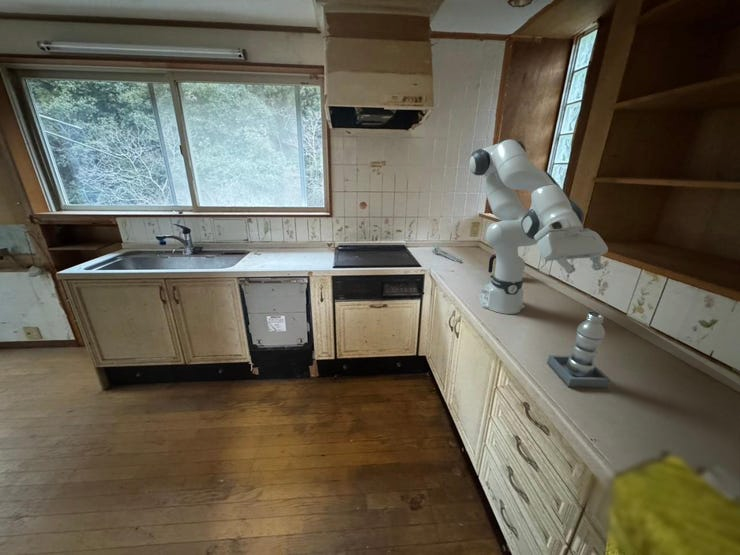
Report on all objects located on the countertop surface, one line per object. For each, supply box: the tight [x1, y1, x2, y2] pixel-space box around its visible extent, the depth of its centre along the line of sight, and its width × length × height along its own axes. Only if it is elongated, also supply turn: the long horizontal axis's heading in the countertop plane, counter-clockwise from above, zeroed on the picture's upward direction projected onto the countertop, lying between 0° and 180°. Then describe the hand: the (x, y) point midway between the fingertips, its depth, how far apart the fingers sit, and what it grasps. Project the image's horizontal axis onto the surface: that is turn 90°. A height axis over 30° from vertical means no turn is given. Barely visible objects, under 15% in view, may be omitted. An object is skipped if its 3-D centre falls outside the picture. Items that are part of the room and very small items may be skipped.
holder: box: [546, 354, 611, 389], centre depth 88 cm, size 11×11×3 cm
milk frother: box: [487, 253, 496, 279], centre depth 160 cm, size 14×16×15 cm
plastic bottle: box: [567, 310, 606, 377], centre depth 84 cm, size 6×7×20 cm
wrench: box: [429, 242, 463, 264], centre depth 204 cm, size 8×2×30 cm
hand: (585, 270), depth 82 cm, fingers open, 8 cm apart
